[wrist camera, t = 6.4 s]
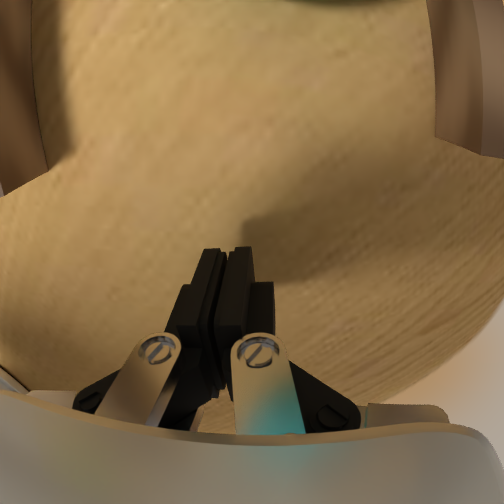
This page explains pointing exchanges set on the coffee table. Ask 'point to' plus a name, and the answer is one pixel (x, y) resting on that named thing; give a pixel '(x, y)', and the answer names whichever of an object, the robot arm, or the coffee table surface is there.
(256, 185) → the coffee table surface
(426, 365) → the coffee table surface
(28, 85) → the bumper lane
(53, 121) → the coffee table surface
